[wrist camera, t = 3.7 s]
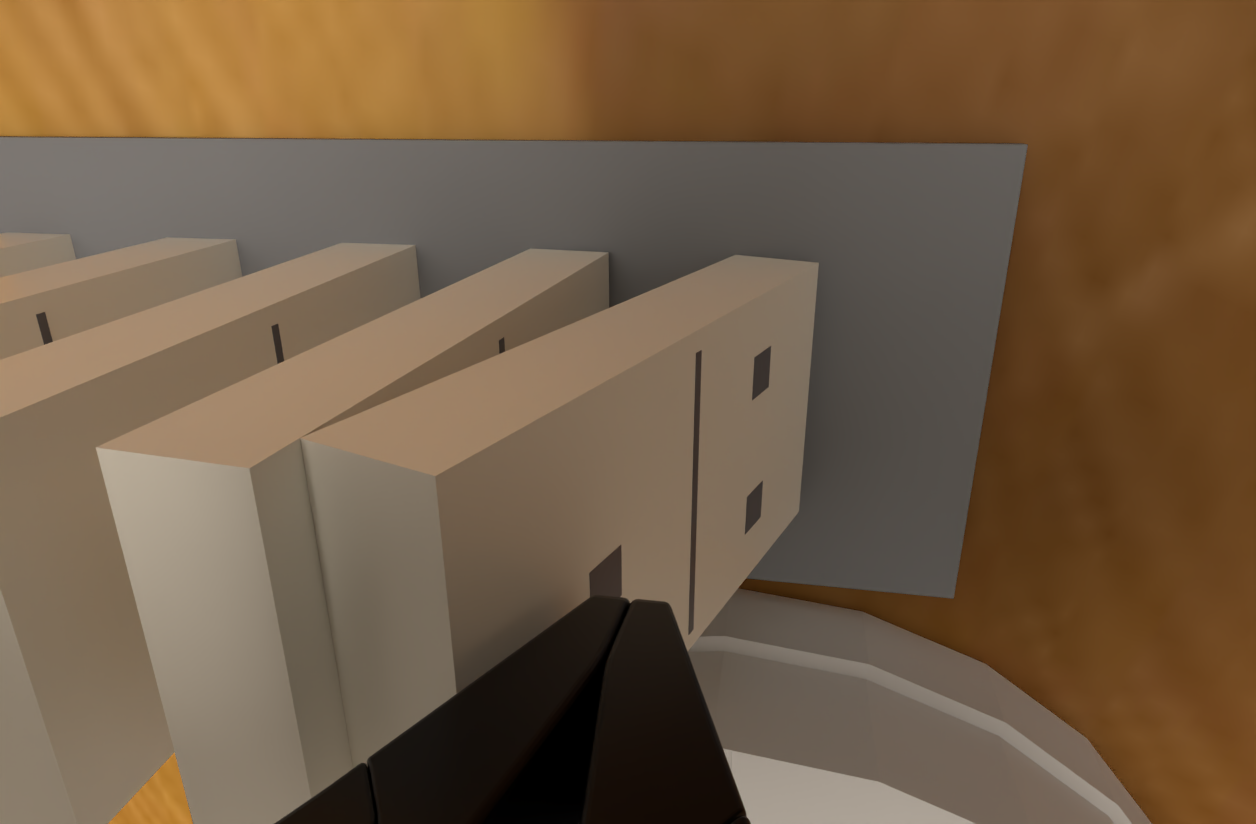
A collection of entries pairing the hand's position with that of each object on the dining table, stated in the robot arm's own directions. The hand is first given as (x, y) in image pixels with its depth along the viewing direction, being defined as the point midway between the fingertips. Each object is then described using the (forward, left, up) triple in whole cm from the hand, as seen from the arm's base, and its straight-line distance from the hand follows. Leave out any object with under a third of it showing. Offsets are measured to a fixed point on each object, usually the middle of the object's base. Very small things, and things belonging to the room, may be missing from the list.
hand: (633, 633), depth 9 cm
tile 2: (+3, 0, -8) cm, 9 cm away
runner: (+5, 0, -9) cm, 10 cm away
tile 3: (+7, 0, -8) cm, 11 cm away
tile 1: (-1, 0, -8) cm, 8 cm away
